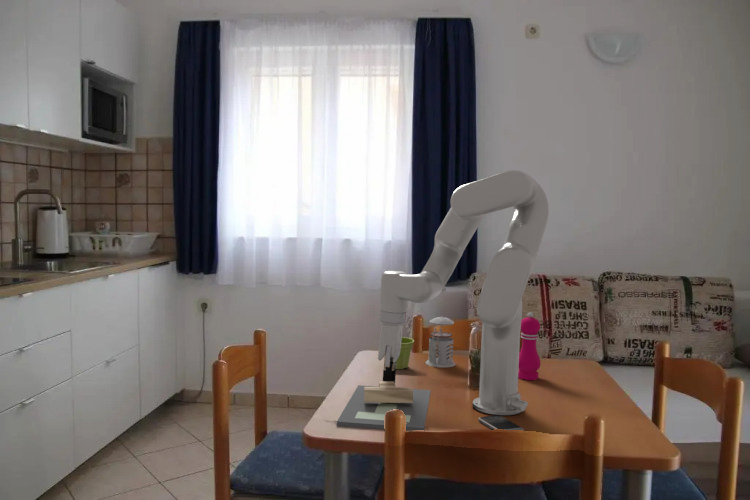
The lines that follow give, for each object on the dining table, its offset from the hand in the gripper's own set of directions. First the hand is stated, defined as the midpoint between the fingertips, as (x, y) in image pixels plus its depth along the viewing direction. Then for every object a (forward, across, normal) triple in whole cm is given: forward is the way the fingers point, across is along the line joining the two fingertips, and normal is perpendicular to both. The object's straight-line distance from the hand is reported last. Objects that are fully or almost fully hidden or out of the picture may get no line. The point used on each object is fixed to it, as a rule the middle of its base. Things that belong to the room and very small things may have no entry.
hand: (388, 384), depth 171 cm
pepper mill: (+2, -28, +38) cm, 47 cm away
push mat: (+3, +12, +2) cm, 13 cm away
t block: (+1, +9, +1) cm, 9 cm away
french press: (+3, -36, +11) cm, 38 cm away
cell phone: (+2, +19, +30) cm, 35 cm away
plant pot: (+3, -29, -1) cm, 29 cm away
